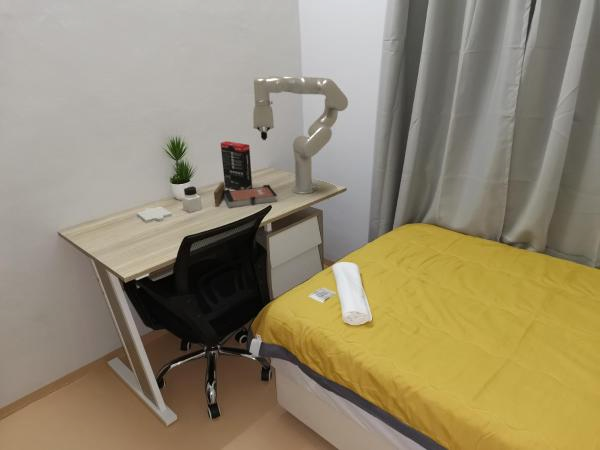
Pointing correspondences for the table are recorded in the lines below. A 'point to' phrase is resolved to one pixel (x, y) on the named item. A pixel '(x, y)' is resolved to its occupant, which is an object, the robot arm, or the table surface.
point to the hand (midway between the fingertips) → (264, 139)
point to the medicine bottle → (191, 200)
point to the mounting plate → (154, 214)
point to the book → (249, 196)
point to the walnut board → (219, 194)
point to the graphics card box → (236, 165)
